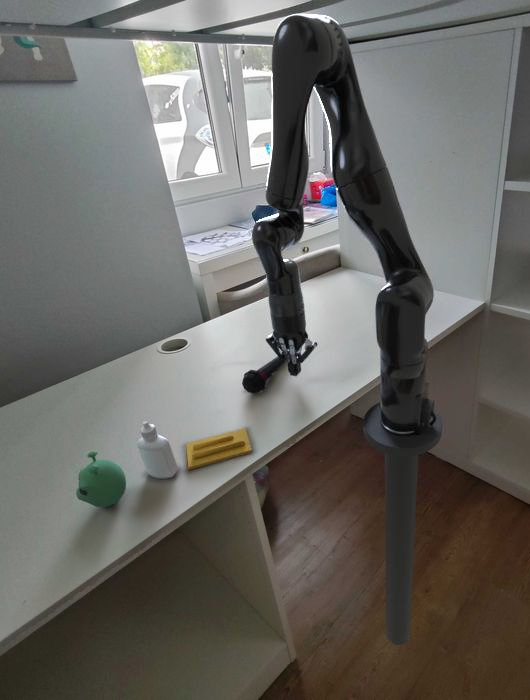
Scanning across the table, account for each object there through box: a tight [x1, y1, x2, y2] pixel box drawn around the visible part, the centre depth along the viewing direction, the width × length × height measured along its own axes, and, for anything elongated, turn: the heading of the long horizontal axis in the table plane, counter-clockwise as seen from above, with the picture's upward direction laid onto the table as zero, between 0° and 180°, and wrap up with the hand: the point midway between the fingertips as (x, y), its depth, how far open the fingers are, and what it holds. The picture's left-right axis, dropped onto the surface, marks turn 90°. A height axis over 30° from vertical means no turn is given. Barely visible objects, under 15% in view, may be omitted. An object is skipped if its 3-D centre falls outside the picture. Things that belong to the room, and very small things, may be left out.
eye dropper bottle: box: [136, 420, 179, 479], centre depth 80 cm, size 4×6×12 cm
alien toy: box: [75, 450, 127, 508], centre depth 75 cm, size 7×8×10 cm
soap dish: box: [185, 427, 253, 470], centre depth 87 cm, size 12×7×2 cm, turn 110°
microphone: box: [241, 356, 286, 394], centre depth 109 cm, size 6×6×20 cm
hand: (295, 374), depth 105 cm, fingers closed
